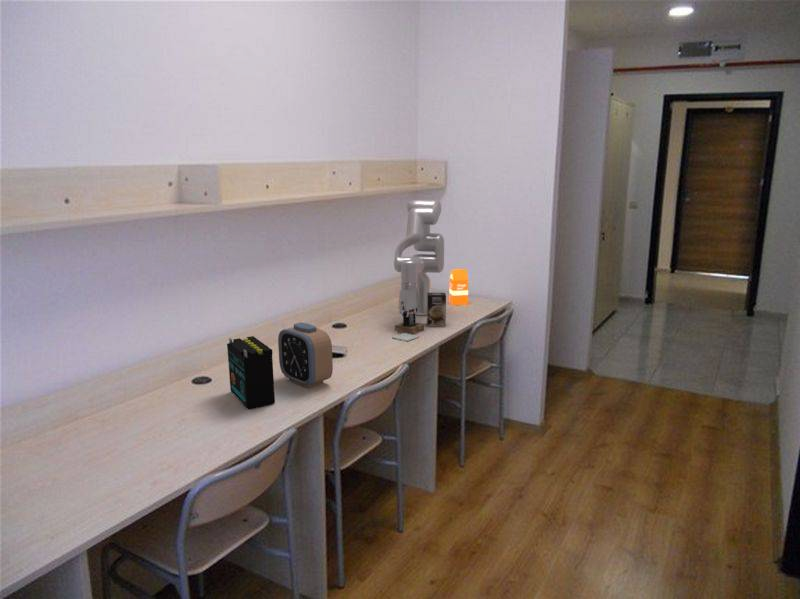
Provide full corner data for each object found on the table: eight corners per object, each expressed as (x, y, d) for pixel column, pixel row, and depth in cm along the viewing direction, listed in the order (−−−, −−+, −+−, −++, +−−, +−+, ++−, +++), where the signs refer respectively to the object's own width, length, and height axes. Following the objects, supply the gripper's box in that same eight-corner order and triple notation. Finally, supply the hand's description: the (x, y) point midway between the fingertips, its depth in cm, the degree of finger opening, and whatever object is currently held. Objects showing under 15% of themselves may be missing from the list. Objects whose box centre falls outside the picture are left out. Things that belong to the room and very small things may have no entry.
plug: (408, 329, 296) (408, 309, 294) (415, 330, 293) (415, 310, 291) (403, 331, 293) (403, 310, 290) (410, 332, 290) (410, 312, 288)
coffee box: (427, 327, 299) (427, 295, 295) (426, 323, 305) (426, 292, 302) (446, 327, 299) (446, 294, 296) (444, 323, 306) (444, 291, 302)
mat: (404, 334, 288) (404, 332, 288) (419, 337, 282) (419, 336, 282) (392, 338, 281) (392, 337, 281) (407, 341, 276) (407, 340, 275)
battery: (230, 391, 218) (226, 338, 214) (256, 386, 223) (253, 333, 219) (247, 410, 202) (243, 352, 198) (275, 403, 207) (272, 347, 203)
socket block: (408, 327, 300) (407, 321, 299) (424, 330, 294) (424, 324, 293) (394, 331, 292) (394, 325, 292) (411, 335, 286) (411, 328, 285)
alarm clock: (279, 378, 231) (276, 323, 226) (300, 372, 238) (297, 318, 233) (312, 392, 217) (309, 333, 212) (333, 385, 223) (331, 328, 219)
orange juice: (449, 303, 349) (449, 268, 344) (464, 302, 350) (464, 267, 346) (452, 306, 341) (453, 270, 337) (468, 305, 343) (468, 270, 338)
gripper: (414, 282, 297) (414, 318, 301) (391, 288, 284) (392, 326, 288) (426, 284, 292) (426, 321, 296) (404, 290, 279) (404, 328, 284)
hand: (409, 323), depth 292 cm, fingers closed on plug, 4 cm apart
